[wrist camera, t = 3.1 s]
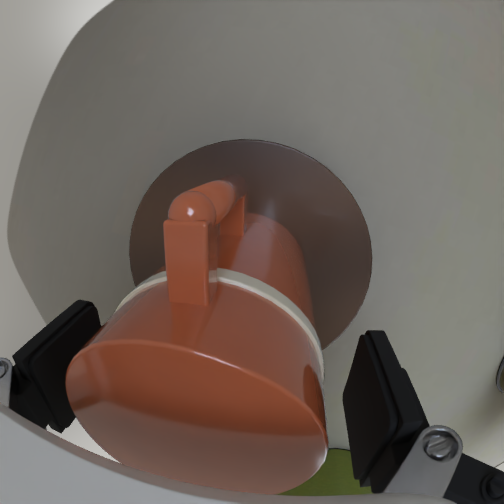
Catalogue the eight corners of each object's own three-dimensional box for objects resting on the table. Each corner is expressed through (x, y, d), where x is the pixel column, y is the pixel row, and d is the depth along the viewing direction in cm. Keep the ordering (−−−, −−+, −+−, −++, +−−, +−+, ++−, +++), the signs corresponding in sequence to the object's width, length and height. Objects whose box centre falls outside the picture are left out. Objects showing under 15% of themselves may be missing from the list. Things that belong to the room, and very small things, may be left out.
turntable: (111, 186, 17) (98, 189, 15) (335, 113, 14) (340, 109, 13) (186, 366, 21) (180, 379, 19) (376, 332, 18) (382, 345, 17)
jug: (182, 168, 14) (5, 210, 4) (316, 173, 14) (403, 225, 3) (190, 340, 18) (119, 487, 7) (297, 350, 17) (297, 519, 7)
